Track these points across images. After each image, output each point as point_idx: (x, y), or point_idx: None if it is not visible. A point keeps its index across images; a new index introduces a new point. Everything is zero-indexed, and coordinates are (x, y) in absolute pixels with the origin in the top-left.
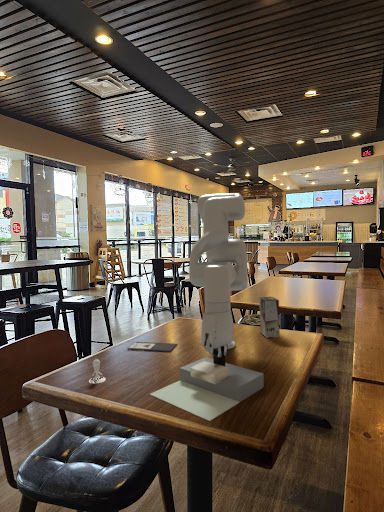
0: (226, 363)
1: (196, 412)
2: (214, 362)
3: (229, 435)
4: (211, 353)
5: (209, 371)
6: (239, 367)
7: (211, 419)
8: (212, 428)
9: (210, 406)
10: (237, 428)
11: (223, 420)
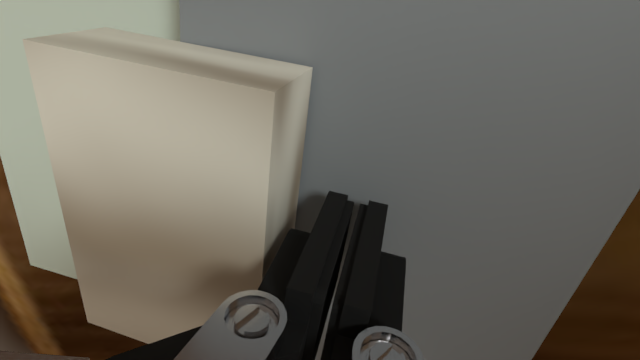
0: (608, 216)
1: (24, 195)
2: (277, 256)
3: (35, 335)
4: (166, 338)
5: (104, 266)
6: (518, 347)
7: (41, 267)
8: (16, 284)
9: None
10: (79, 347)
11: (77, 301)
